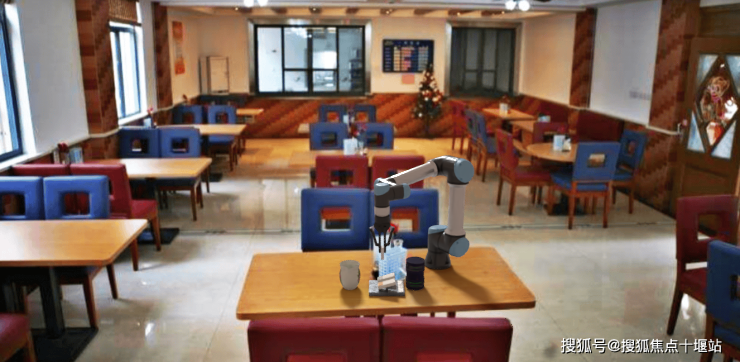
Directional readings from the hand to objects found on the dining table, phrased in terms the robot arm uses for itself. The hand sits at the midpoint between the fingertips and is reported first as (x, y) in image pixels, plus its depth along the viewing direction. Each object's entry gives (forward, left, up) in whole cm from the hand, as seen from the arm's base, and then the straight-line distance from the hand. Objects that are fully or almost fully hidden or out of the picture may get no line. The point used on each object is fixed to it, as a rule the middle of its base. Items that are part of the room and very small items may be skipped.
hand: (382, 258), depth 289 cm
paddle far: (-2, -6, -13) cm, 15 cm away
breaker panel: (-2, -3, -18) cm, 19 cm away
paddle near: (-2, +1, -13) cm, 13 cm away
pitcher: (+17, -7, -18) cm, 26 cm away
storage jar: (-17, -7, -19) cm, 26 cm away
